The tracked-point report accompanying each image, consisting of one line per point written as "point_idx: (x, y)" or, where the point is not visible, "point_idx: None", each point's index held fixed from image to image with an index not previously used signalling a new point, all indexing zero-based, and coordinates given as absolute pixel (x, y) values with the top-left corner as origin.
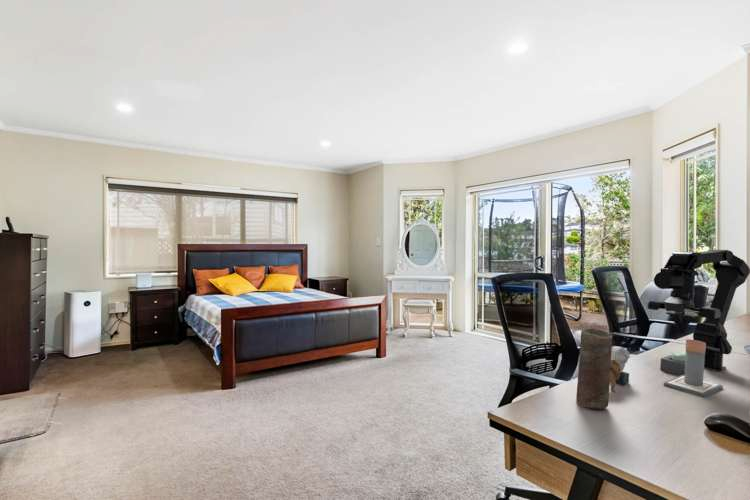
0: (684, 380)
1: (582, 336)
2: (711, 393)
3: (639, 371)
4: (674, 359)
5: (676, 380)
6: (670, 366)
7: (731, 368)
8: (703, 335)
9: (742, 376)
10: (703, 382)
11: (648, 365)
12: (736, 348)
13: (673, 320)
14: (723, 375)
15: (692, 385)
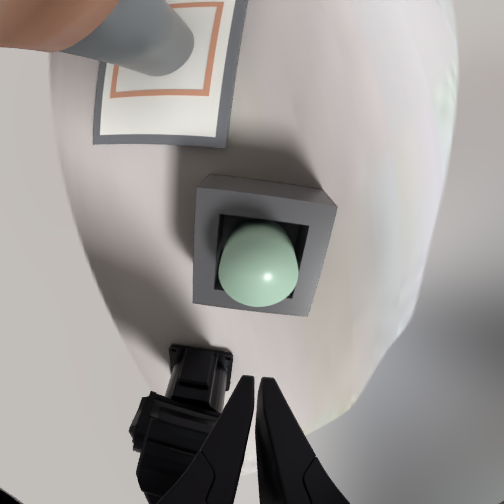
0: (189, 28)
1: None
2: None
3: (378, 86)
4: (276, 231)
5: (220, 23)
6: (285, 191)
7: None
8: (196, 451)
9: (124, 340)
10: (138, 103)
11: (370, 221)
12: None
13: (338, 490)
14: (150, 313)
15: None
